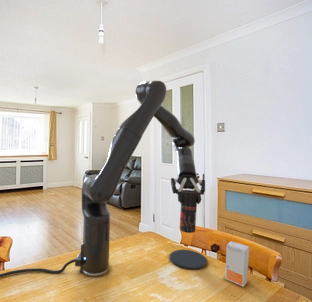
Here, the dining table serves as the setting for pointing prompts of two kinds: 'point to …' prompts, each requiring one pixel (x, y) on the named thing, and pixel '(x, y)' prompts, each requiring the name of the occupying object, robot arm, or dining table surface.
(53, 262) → the dining table surface
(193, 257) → the mat
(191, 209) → the deodorant
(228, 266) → the cosmetic box
